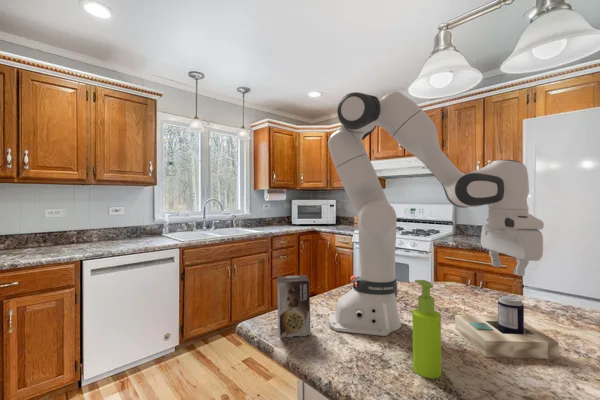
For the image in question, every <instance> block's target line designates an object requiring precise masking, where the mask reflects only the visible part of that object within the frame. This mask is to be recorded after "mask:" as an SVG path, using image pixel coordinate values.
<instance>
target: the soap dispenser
mask: <svg viewBox="0 0 600 400" xmlns="http://www.w3.org/2000/svg"><path fill="white" fill-rule="evenodd" d="M414 283H417V284H419V285H420V286H421V294H420V295H418V296H417V298H418V299H417V308H415V309H413V310H412V369H413V371H414V372H415V373H416V374H417V375H419V376H421V377H423V378H426V379H437V378H440V377H441V376H442V327H441V326H442V322H441V321H442V318H441V316H442V315H441V314H440V312H438V311H436V310H435V298H434V297H433V296H431V289H433V288H434V284H432V283H431V282H430V281H428V280H425V279H415V280H414Z"/></svg>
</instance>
